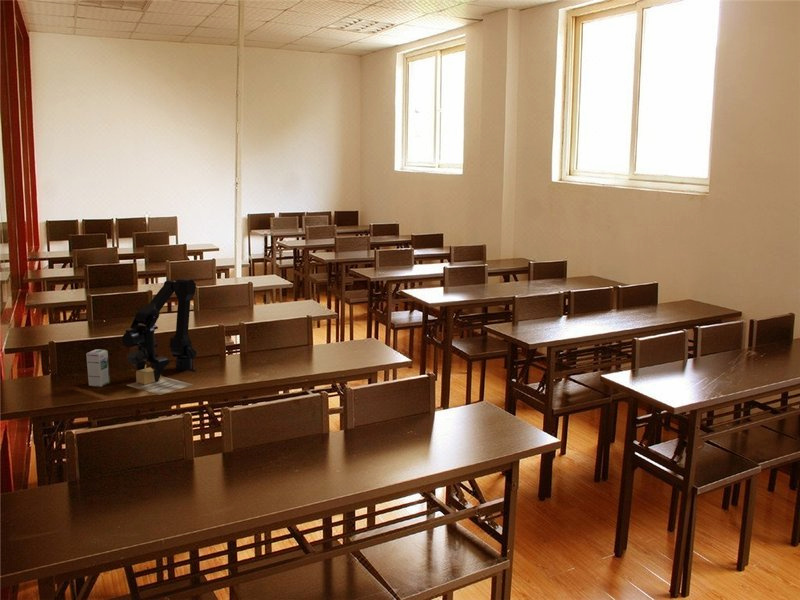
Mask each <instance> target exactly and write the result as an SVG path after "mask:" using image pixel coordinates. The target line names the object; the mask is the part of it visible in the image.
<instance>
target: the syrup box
mask: <svg viewBox="0 0 800 600" xmlns="http://www.w3.org/2000/svg"><path fill="white" fill-rule="evenodd" d="M108 351H109V350H107V349H94V350H91V351H89V352H87V353H86V354H85V357H86V367H87V378H88V386H91V387H103V386H106V385H108V384H111V378H110V376H111V375H110V365H109V352H108Z"/></svg>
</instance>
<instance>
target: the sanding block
mask: <svg viewBox="0 0 800 600" xmlns="http://www.w3.org/2000/svg"><path fill="white" fill-rule="evenodd" d="M151 367H152V366H150V367H147V368H146V367H145V369H142V370H138V371H137V370H135V377H136V378H135V379H136V382H137V383H142V384H144V385H147V384H150V383H154V382H155V379H154V371H153V369H152V368H151ZM161 376H162V375H161ZM161 376H160V378H159V381H160V380H161ZM136 382H135V383H136Z"/></svg>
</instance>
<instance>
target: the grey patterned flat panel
mask: <svg viewBox="0 0 800 600" xmlns="http://www.w3.org/2000/svg"><path fill="white" fill-rule="evenodd" d="M193 385H194V384H193V383H189V382H185V381H180V380H178V379H174V378H169V377H165V376H163V375H161V380H160V381H158V382H154V383H150V384H147V385H144V384H142V383H137V382H133V383H129V384H126V386H128V387H130V388H134V389H138V390H141V391H146V392H149V393H151V394H156V395H158V396H162V395H165V394H167V393H171V392H174V391H177V390H179V389H180V390H181V389H183V388H187V387H190V386H193Z"/></svg>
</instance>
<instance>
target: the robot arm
mask: <svg viewBox="0 0 800 600" xmlns="http://www.w3.org/2000/svg"><path fill="white" fill-rule="evenodd" d="M196 288H197V284H196V281H195V280H193V279H187V278H178V279H176V280H168V279H167V280H165V281H164V282H163V285H162V286H161V287H160V289H159V291H158V292H157V293H156V294H155V296H153V298H152V299H151V301H150V302H149V303H148V304H146V305H144V306H143V307H141V308H140V309H139V310H137V312H136V313H135V316H134V317H133V318H134V319H133V320H132V323H131V324H130V329H126V330H125V333H124V334H123V335H122V337H121V342H122V344H123V346H124V347H125V348H133V347H136V349H134V350H132V351H131V352H129V353H128V354H127V355H126V359H127V361H128V364H133V366H135V369H136V371H138V370H142V369H146V364H147V362H148V363H150V367H151V368H152V369H153V371H154V379H155V382H158V381H159V378H160V376H162V374H163V372H164V370H165V368H166V367H167V366H169V365H170V359H169V358H168V357H166V356H165V357H164V356H158V355H159V354H158V353H156V348H157V347H158V343H156V341H155V340H156V338H155V337H156V336H155V330H158V329H159V327H158V326H157V325H156V323H157V322H158V319H159V318H160V311H161V310H162V308H164V306H165V305H166V303H167V302H168V301H169V299H170V298H171V297H172V296H173V294H174V296H176V299H177V310H176V311H177V312H176V325H175V334H174V335H173V337H171V338H169V347H168V348H169V350H170V352H171V355H172V357H173V358H175V359H176V360H175V371H178V372H183V371H188V372H195V371H196V370H197V369H195V368H194V361H193V360H194V359H195V358H196V357H197V355H198V354H197V351H196V350H195V349H194V348H193V346H192V340H191V337H190V335H189V327H190V326H189V325H190V324H189V323H190V314H191V313H190V312H191V310H190V308H191V300H192V299H193V298H194V296H195V294H196Z"/></svg>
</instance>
